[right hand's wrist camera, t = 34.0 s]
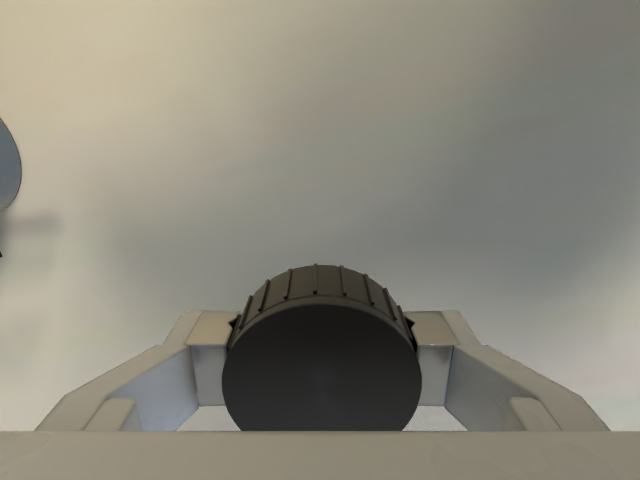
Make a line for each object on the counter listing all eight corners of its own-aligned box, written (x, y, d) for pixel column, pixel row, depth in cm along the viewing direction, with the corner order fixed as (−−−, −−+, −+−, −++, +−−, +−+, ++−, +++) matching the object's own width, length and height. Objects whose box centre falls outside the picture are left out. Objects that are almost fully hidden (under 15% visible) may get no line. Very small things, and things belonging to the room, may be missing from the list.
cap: (366, 421, 11) (374, 483, 10) (217, 377, 11) (196, 434, 9) (435, 296, 10) (462, 341, 8) (266, 237, 9) (253, 271, 7)
